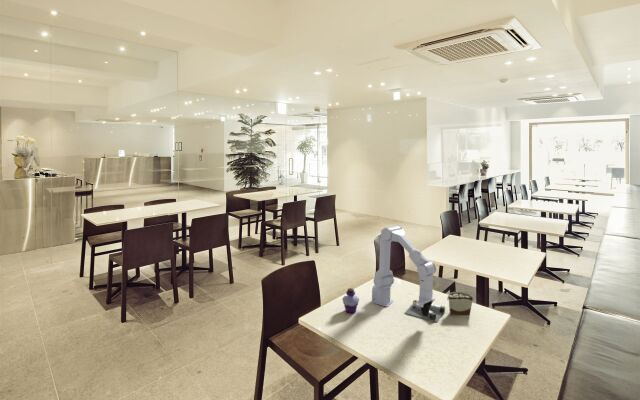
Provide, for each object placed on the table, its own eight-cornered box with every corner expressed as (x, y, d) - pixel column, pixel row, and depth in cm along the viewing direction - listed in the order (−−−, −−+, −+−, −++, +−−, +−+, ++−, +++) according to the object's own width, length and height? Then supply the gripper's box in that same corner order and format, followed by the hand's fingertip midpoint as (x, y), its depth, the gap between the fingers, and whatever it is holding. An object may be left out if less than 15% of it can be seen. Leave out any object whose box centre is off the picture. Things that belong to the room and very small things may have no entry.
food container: (468, 309, 169) (469, 291, 168) (472, 315, 163) (474, 296, 162) (443, 309, 170) (444, 290, 169) (447, 315, 164) (447, 296, 163)
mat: (404, 313, 167) (404, 312, 167) (413, 303, 177) (413, 302, 177) (437, 322, 158) (437, 321, 158) (444, 311, 168) (444, 310, 168)
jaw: (411, 306, 173) (411, 300, 172) (415, 305, 174) (415, 299, 173) (432, 320, 159) (432, 313, 158) (436, 318, 160) (436, 312, 159)
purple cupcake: (359, 307, 174) (359, 285, 172) (359, 315, 166) (359, 293, 164) (342, 307, 175) (342, 285, 173) (342, 315, 167) (341, 292, 165)
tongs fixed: (413, 305, 174) (413, 300, 174) (414, 303, 176) (414, 299, 175) (443, 313, 165) (444, 308, 165) (444, 311, 167) (445, 306, 167)
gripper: (429, 295, 144) (429, 324, 147) (439, 284, 156) (438, 311, 158) (414, 292, 149) (413, 320, 151) (424, 281, 160) (423, 307, 162)
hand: (425, 315), depth 155 cm, fingers closed
